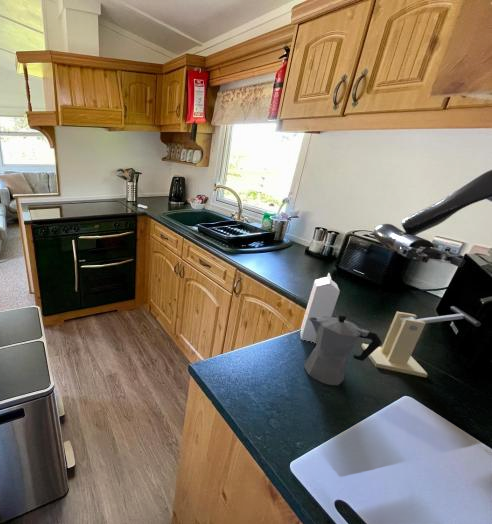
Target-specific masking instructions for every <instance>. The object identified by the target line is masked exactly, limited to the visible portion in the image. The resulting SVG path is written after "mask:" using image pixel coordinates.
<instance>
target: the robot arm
mask: <svg viewBox="0 0 492 524" xmlns="http://www.w3.org/2000/svg"><path fill="white" fill-rule="evenodd" d="M484 200H487V201H489V202H492V169H490V170H488V171H486V172H484V173H482V174H480V175H478V176H477V177H475V178H474V179H472V180H471V181H469V182H467V183H466V184H465V185H463V186H461V187H460V188H458V189H457V190H455V191H453V192H452V193H450V194H449V195H447V196H445V197H444V198H442V199H440V200H438V201H437V202H435V203H433V204H431V205H429V206H428V207H425V208H423V209H421V210H420V211H418V212H415V213H413V214H411V215H409V216H407V217H405V218H404V219H402V220H401V226H402V229H403V230H401V229H400V228H399V227H397V226H395V225H393V224H392V223H382V224H380V225H378V226H376V227H375V228H374V230H373V232H372V234H373V238H374V239H376V241H378V243H380V244H381V245H382V246H383V247H384V248H386V249H387V250H393V251H395V252H397V253H398V254H399V255H401V256H402V257H404V258H406V259H409V260H411V261H413V262H422V263H426V264H427V263H429V261H434V262H437V263H449V264H451V265H454V266H456V267H458V268H463V267H464V265H465V263H466V260H465V259H464V257H465V256H464V255H461V254H458V253H456V252H453V251H451V250H441V249H438V248H437V247H435V245H434V244H433V242H432V241H430V240H428V239H426V238H423V237H420V236H418V235H419V234H420V233H421V234H422V232H425V231H428V230H430V229H432V228H434V227H437V226H439V225H440V224H442V223H444V222H445V221H446V220H448V219H449V218H450V217H452V216H453V215H455V214H456V213H458V212H459V211H460V210H461V211H462V209H464V208H466V207H468V206H471V205H473V204H475V203H478V202H481V201H484ZM439 258H440V259H439Z"/></svg>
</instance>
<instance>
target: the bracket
mask: <svg viewBox="0 0 492 524" xmlns="http://www.w3.org/2000/svg"><path fill="white" fill-rule="evenodd" d="M411 316H412V317H413V318H414V319H417V318H418V315H416V314H414V313H409V312H402V311H396V312H395V315H394V318H393V319H392V322H391V324H390V326H389V329H388V331H387V334H386V336H385V339H384V341H383V343H382V345H381V346H379V347H378V348H377V349H376V350H374V351H373V352H372V353H371V354H370V355H369V356H368V357H367V358H369V360H370V361H371V363H372V364H373V366H374V367H375V368H379V369H384V370H388V371H393V372H399V373H402V374H407V375H413V376H416V377H422V378H427V377H428V376H429V374H428V373H427V371H426V370H425V369H424V368H423V367H422V366H421V365H420V364H419V363H418V362H417V360H416V359H415V358H414V357H412V354H413V352H414V350H415V348H416V345H417V343H418V341H419V339H420V337H421V334H422V333H423V330H424V328H425V326H426V324H427V323H425V322H423V321H417V320H411V319H406V318H404V320H403V323H402V325H401V324H400V318H403V317H411ZM368 345H369V344H367V343H362V344H361V349H363V350H365V349H366V348H367V347H368ZM363 350H362V351H363Z"/></svg>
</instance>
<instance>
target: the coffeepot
mask: <svg viewBox="0 0 492 524" xmlns="http://www.w3.org/2000/svg"><path fill="white" fill-rule="evenodd" d="M346 319H348V316H346V315H344V314H341V313H340V314H338V316H337V317H336V316H332V317H329V316H324V317H322V318H319V317H311V318H310V319H309V320H310V321H311V322H312V324H313V326H314V329H315V332H316V345H315V347H314V348H313V350H312V351H311V353H310V355H309V356H308V358H307V360H306V361H305V363H304V364H303V367H304V369H305V372H306V373H307V374H308V375H309V376H310V377H311V378H312V379H314V380H315V381H317V382H319V383H322V384H323V385H327V386H339V385H340V384H341V383H342V382H343V381H344V380H345V373H346V364H347V358H346V357H347V355H348V354H349V353H350V352H351V351H352V349H353V348H354V346H355V345H356V344H357V341H358V340H359V338H361V339H368V340H371V342H370V343H369V344H368V347H367V348H366V349H365V350H362V352H361V354H360V355H356V354H353V359H354V360H358V361H365V360H366V359H367V358H369V357H368V356H369V355H370V354H371V353H372V352H373V351H374V350H376V349H377V348H378V347H381V346H382V340H381V338H380V337H379V335H378V334H377V333H376V332H374V331H373V332H372V331H368V330H367V329H364V328H359V327H358V326H357V325H356V324H355V323H353V322H351V321H348V320H346Z"/></svg>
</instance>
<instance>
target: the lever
mask: <svg viewBox="0 0 492 524" xmlns="http://www.w3.org/2000/svg"><path fill="white" fill-rule="evenodd" d="M449 308H450V310H451V311H452V312H453V313H454V314H446V315H438V316H430V317H422V318H416V319H414V318H413V317H412V316H411V317H403V318H400V324H401V325H402V323H403V320H404V318H406V319H411V320H417V321H423V322H425V323H426V324H431V323H439V322H440V323H441V322H446V321H448V322H449V321H456V320H463V319H464V320H466V321H467V322H469V323H470V324H472V325H473V326H475V327H481V325H482V323H481V322H480V321H478V320H477V319H475V318H474V317H473V316H471V315H469V314H467V313H466V312H465V311H463V310H461V309H460V308H459V307H457V306H455V305H452V306H450V307H449Z"/></svg>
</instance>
